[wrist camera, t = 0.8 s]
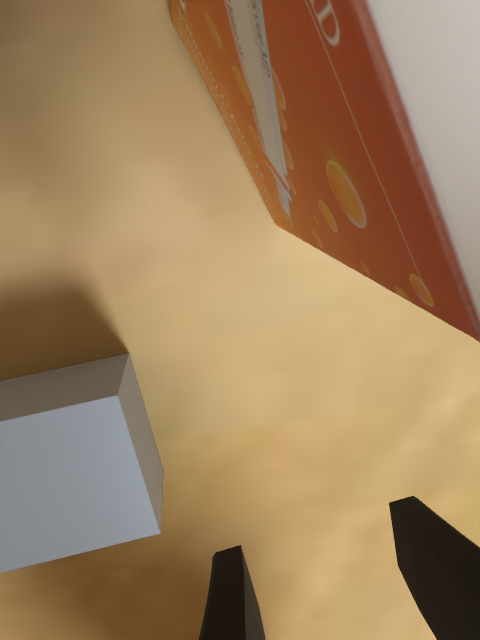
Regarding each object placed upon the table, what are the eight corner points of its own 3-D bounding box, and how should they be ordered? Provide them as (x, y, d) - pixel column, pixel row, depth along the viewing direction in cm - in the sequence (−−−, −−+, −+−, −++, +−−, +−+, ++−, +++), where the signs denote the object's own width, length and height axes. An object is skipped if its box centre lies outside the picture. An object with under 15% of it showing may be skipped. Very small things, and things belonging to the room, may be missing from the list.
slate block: (163, 467, 21) (160, 533, 17) (11, 504, 20) (-27, 579, 16) (130, 350, 19) (117, 395, 15) (-40, 388, 18) (-97, 443, 14)
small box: (166, 20, 15) (111, -678, 3) (332, -80, 15) (1103, -1348, 2) (274, 232, 18) (492, 365, 5) (416, 151, 17) (983, 98, 5)
